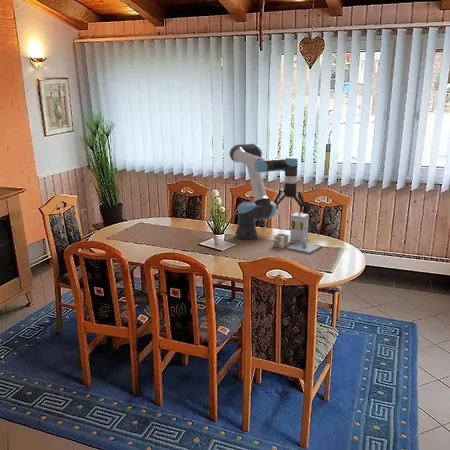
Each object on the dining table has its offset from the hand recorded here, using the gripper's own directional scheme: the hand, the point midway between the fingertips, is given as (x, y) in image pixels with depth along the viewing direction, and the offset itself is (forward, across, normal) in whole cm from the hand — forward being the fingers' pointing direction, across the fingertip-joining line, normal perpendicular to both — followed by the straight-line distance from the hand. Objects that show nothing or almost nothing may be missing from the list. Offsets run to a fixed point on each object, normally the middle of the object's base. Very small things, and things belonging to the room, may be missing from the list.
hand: (289, 215), depth 290 cm
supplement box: (+20, +2, +16) cm, 26 cm away
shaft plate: (+19, +12, -1) cm, 23 cm away
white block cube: (+20, -4, -3) cm, 20 cm away
